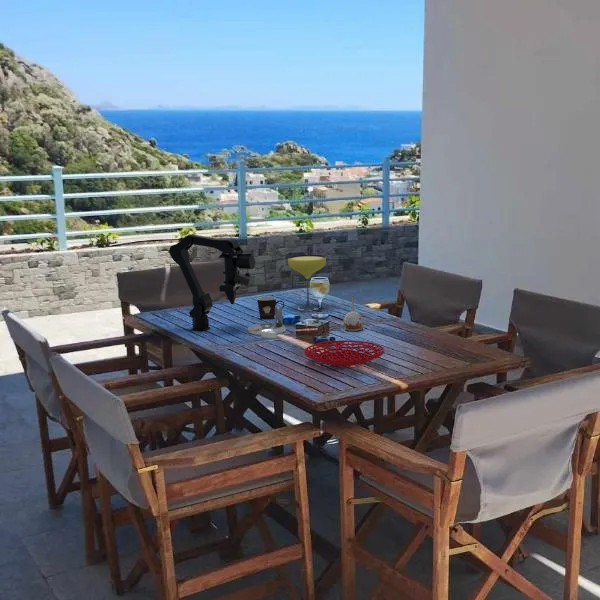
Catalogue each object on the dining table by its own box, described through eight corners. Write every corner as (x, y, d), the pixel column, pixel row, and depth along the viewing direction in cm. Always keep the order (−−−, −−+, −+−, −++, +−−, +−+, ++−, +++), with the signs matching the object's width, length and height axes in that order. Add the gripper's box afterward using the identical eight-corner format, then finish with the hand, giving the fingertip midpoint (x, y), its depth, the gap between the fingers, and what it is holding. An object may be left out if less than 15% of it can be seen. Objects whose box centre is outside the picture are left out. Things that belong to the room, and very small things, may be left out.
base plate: (233, 336, 344) (232, 326, 343) (261, 326, 361) (260, 317, 360) (272, 341, 333) (272, 331, 332) (299, 330, 350) (298, 321, 349)
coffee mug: (254, 321, 370) (253, 299, 368) (262, 317, 378) (261, 296, 376) (278, 322, 366) (277, 301, 364) (285, 318, 374) (285, 297, 372)
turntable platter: (258, 337, 336) (257, 315, 334) (241, 330, 350) (240, 308, 348) (292, 332, 344) (291, 310, 342) (274, 325, 357) (273, 303, 356)
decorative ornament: (365, 330, 347) (364, 296, 344) (348, 332, 345) (347, 297, 342) (358, 326, 354) (357, 293, 351) (341, 328, 352) (340, 294, 349)
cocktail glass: (327, 312, 385) (326, 259, 380) (289, 313, 385) (287, 260, 380) (326, 304, 402) (325, 254, 397) (290, 305, 403) (288, 255, 398)
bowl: (325, 379, 280) (325, 365, 279) (291, 359, 307) (291, 346, 306) (399, 367, 292) (399, 354, 291) (361, 349, 318) (360, 336, 317)
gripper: (243, 272, 337) (245, 309, 340) (254, 264, 355) (256, 299, 358) (217, 272, 339) (219, 308, 342) (229, 264, 357) (231, 299, 360)
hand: (232, 304), depth 350 cm, fingers closed
